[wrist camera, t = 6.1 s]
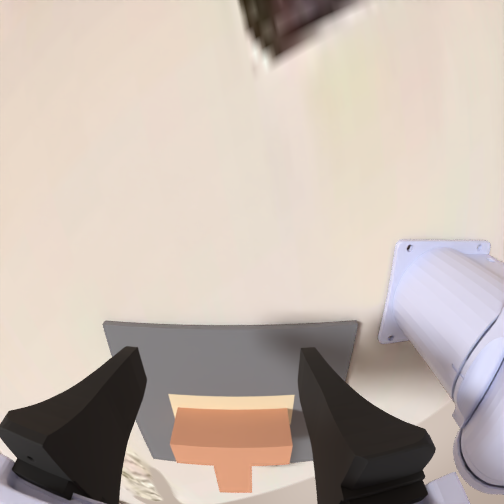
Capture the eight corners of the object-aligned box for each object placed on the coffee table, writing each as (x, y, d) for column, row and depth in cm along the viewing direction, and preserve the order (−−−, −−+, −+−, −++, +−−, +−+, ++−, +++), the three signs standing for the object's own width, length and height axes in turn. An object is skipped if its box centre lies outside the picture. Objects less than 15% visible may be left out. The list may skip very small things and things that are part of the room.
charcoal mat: (355, 320, 20) (358, 324, 19) (321, 455, 26) (321, 459, 25) (105, 320, 19) (102, 324, 19) (154, 455, 25) (153, 458, 25)
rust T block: (287, 408, 22) (292, 445, 18) (280, 460, 25) (283, 491, 21) (177, 407, 22) (169, 444, 18) (192, 459, 24) (188, 490, 21)
